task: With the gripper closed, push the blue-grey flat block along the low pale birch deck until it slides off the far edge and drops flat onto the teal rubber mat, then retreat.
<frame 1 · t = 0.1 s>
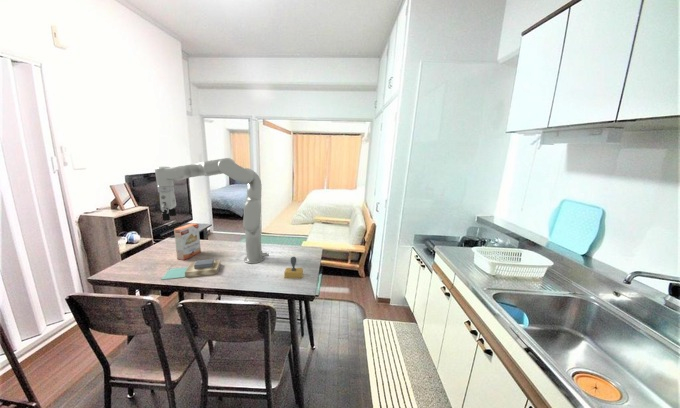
hand: (169, 217, 137), 31 cm above the table, tool pointing down, fingers open, 9 cm apart
cracker box: (189, 255, 160), on the table
deck: (204, 270, 141), on the table
rubber stamp: (293, 276, 138), on the table
blue-grey flat block: (204, 263, 140), point 4 cm above the table, touching deck
mat: (176, 273, 137), on the table
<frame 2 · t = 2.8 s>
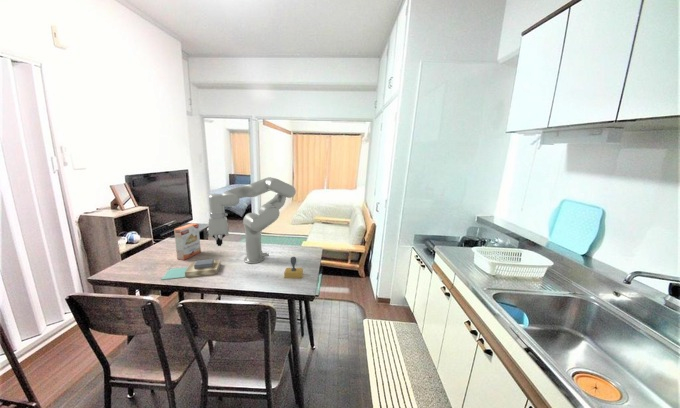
hand: (219, 245, 140), 15 cm above the table, tool pointing down, fingers closed
nothing on the table moved.
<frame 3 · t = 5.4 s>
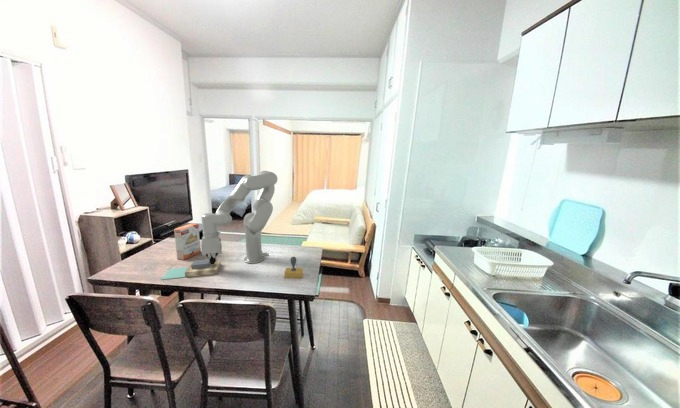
hand: (213, 263, 141), 4 cm above the table, tool pointing down, fingers closed
blue-grey flat block: (201, 264, 140), point 4 cm above the table, touching deck, gripper
everything else where it was.
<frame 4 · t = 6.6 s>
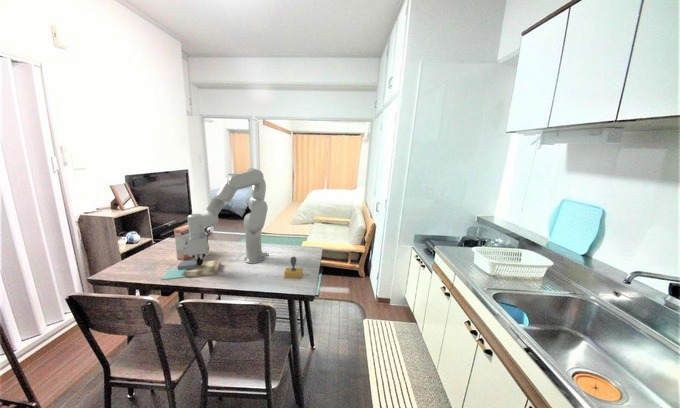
hand: (200, 264, 139), 4 cm above the table, tool pointing down, fingers closed
blue-grey flat block: (188, 265, 138), point 4 cm above the table, touching gripper
everything else where it was.
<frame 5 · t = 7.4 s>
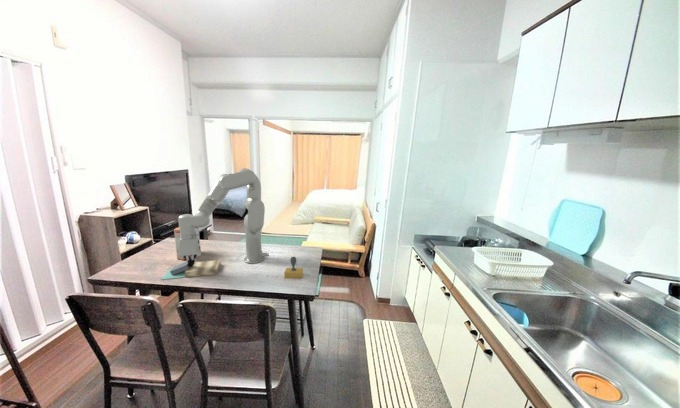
hand: (191, 265, 138), 4 cm above the table, tool pointing down, fingers closed
blue-grey flat block: (181, 267, 137), point 3 cm above the table, tilted 19°, touching gripper
everything else where it was.
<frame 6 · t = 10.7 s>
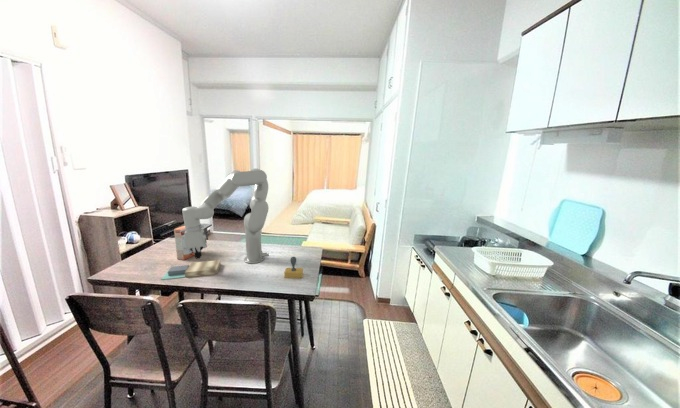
hand: (198, 257, 139), 8 cm above the table, tool pointing down, fingers closed
blue-grey flat block: (179, 270, 137), point 2 cm above the table, touching mat
everything else where it was.
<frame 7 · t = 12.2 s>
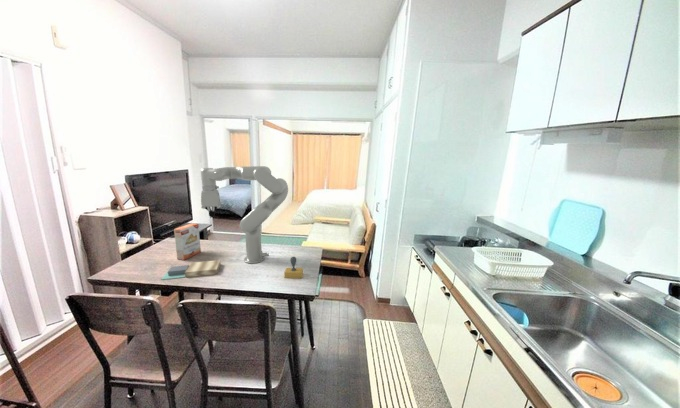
hand: (212, 217, 149), 29 cm above the table, tool pointing down, fingers closed
nothing on the table moved.
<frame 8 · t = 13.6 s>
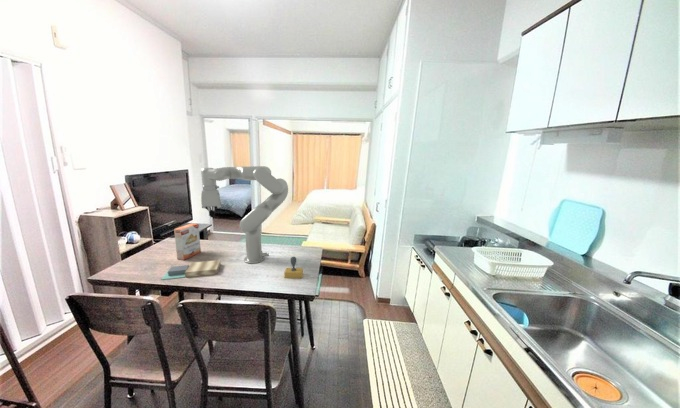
hand: (212, 216, 149), 29 cm above the table, tool pointing down, fingers closed
nothing on the table moved.
at the end: blue-grey flat block point 1.6 cm above the table; blue-grey flat block inside the target area on the mat (1.2 cm from its centre), point 1.6 cm above the mat's base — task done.
